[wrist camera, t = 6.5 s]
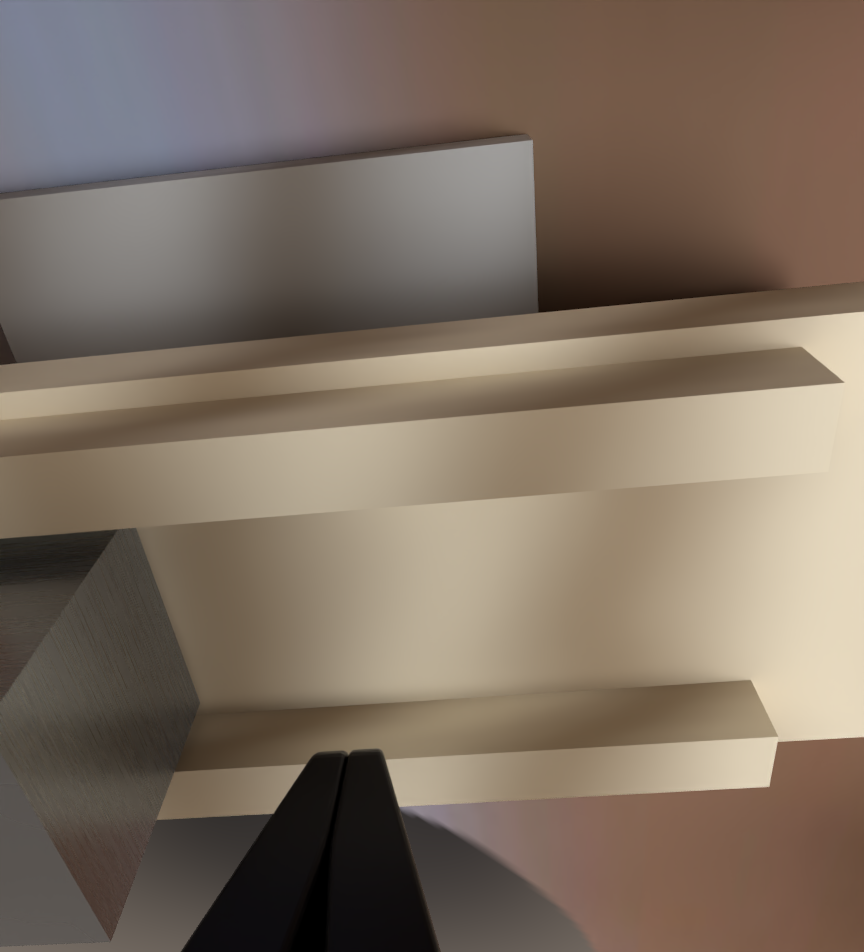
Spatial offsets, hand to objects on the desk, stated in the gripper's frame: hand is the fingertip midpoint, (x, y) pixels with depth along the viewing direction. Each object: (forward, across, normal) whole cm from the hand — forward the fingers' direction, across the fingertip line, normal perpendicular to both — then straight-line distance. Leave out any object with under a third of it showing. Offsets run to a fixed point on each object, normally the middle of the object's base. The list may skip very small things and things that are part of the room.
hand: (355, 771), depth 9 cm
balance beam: (+8, +2, 0) cm, 9 cm away
